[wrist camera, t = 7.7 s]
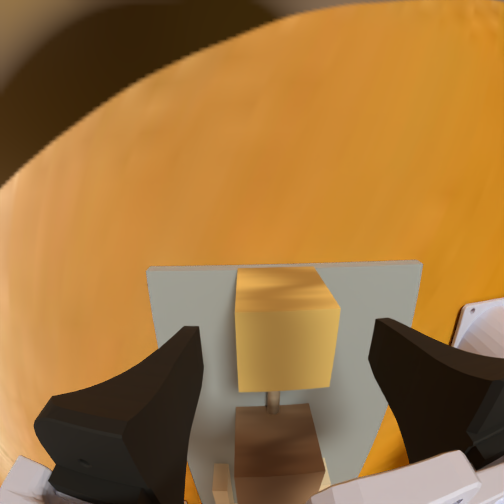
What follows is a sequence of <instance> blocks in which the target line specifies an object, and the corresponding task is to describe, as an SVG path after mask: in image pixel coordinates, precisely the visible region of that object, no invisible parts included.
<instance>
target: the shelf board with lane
mask: <svg viewBox="0 0 504 504" xmlns="http://www.w3.org/2000/svg"><path fill="white" fill-rule="evenodd" d="M306 266H314V268H315V269H316V271H317V272H318V274H319V275H320V277H321V278H322V280H323V281H324V283H325V284H326V286H327V288H328V289H329V291H330V292H331V294H332V295H333V297H334V298H335V300H336V301H337V303H338V305H339V306H340V308H341V311H340V319H339V327H338V335H337V342H336V349H335V356H334V362H333V368H332V374H331V380H330V386H329V387H323V388H313V389H301V390H288V391H280V405H291V404H303V403H309V406H310V410H311V414H312V418H313V422H314V426H315V430H316V434H317V438H318V442H319V446H320V450H321V454H322V458H323V462H324V466H325V470H326V471H325V474H324V477H323V480H322V483H321V486H320V489H319V491H321V490H323V489H325V488H327V487H329V486H331V485H334V484H337V483H341V482H344V481H348V480H351V479H354V478H357V477H358V475H359V473H360V471H361V469H362V467H363V465H364V463H365V460H366V458H367V456H368V454H369V451H370V449H371V447H372V445H373V442H374V440H375V437H376V435H377V433H378V430H379V428H380V425H381V422H382V420H383V417H384V415H385V412H386V409H387V406H388V402H387V400H386V399H385V397H384V395H383V393H382V391H381V389H380V387H379V385H378V383H377V382H376V380H375V378H374V375H373V372H372V370H371V367H370V364H369V361H368V355H369V350H370V346H371V341H372V335H373V330H374V325H375V319H378V318H391V319H394V320H396V321H398V322H400V323H402V324H404V325H406V326H408V327H410V328H411V325H412V320H413V316H414V311H415V306H416V301H417V296H418V291H419V285H420V280H421V273H422V267H423V264H422V263H421V262H419V261H418V260H400V261H372V262H341V263H307V264H267V265H218V266H150V267H149V268H148V269H147V271H146V275H147V282H148V289H149V296H150V303H151V309H152V315H153V321H154V327H155V332H156V338H157V343H158V348H160V347H161V346H162V345H163V344H164V343H166V342H167V341H168V340H169V339H170V338H171V337H172V336H173V335H175V334H176V333H177V332H178V331H179V330H180V329H181V328H182V327H183V326H199V329H200V338H201V347H202V355H203V363H204V372H203V381H202V388H201V392H200V396H199V400H198V404H197V408H196V412H195V416H194V420H193V424H192V428H191V432H190V438H189V446H188V454H187V462H188V465H189V468H190V471H191V474H192V477H193V480H194V483H195V485H196V488H197V491H198V494H199V497H200V499H201V502H202V504H238V503H237V496H236V488H235V481H234V458H235V416H236V407H246V406H267V398H268V392H239V388H238V370H237V350H236V329H235V301H236V285H237V270H238V268H268V267H306Z"/></svg>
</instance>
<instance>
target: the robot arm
mask: <svg viewBox="0 0 504 504" xmlns="http://www.w3.org/2000/svg"><path fill="white" fill-rule="evenodd" d="M368 361H369V364H370V367H371V370H372V372H373V375H374V378H375V380H376V382H377V383H378V385H379V387H380V389H381V391H382V393H383V395H384V397H385V399H386V400H387V402H388V404H389V406H390V408H391V410H392V412H393V414H394V416H395V418H396V420H397V423H398V426H399V429H400V431H401V434H402V437H403V441H404V444H405V447H406V451H407V454H408V458H409V463H410V464H409V465H406V466H403V467H399V468H396V469H392V470H388V471H385V472H381V473H377V474H373V475H368V476H364V477H359V478H354V479H351V480H348V481H344V482H341V483H337V484H334V485H331V486H329V487H327V488H325V489H323V490H321V491H319V492H317V493H315V494H313V495H312V496H311V497H310V499H309V500H308V501H307V502H306V503H305V504H504V298H498V299H493V300H488V301H482V302H476V303H470V304H466V305H465V306H464V307H463V308H462V310H461V314H460V318H459V321H458V325H457V328H456V332H455V335H454V338H453V341H452V345H451V346H449V345H446V344H444V343H442V342H439V341H437V340H435V339H433V338H430V337H428V336H426V335H424V334H422V333H420V332H418V331H416V330H414V329H412V328H410V327H408V326H406V325H404V324H402V323H400V322H398V321H396V320H394V319H391V318H378V319H375V325H374V330H373V335H372V341H371V346H370V350H369V355H368ZM203 372H204V363H203V355H202V347H201V338H200V329H199V326H183V327H182V328H181V329H180V330H179V331H178V332H177V333H176V334H175V335H173V336H172V337H171V338H170V339H169V340H168V341H167V342H166V343H164V344H163V345H162V346H161V347H160V348H159V349H157V350H156V351H155V352H154V353H152V354H151V355H150V356H148V357H147V358H146V359H144V360H143V361H142V362H140V363H139V364H137V365H136V366H134V367H132V368H131V369H129V370H127V371H125V372H124V373H122V374H120V375H118V376H116V377H113V378H111V379H109V380H107V381H105V382H102V383H100V384H97V385H94V386H92V387H89V388H85V389H82V390H79V391H75V392H70V393H66V394H61V395H56V396H52V397H51V398H50V400H49V401H48V403H47V404H46V405H45V407H44V408H43V410H42V411H41V413H40V414H39V416H38V417H37V418H36V420H35V422H34V430H35V433H36V436H37V437H38V439H39V441H40V443H41V444H42V446H43V447H44V448H45V450H46V451H47V453H48V454H49V455H50V457H51V458H52V460H53V461H54V462H55V464H56V466H55V468H54V470H53V471H52V470H50V469H49V468H48V467H46V466H44V465H42V464H40V463H38V462H35V461H33V460H31V459H28V458H26V457H24V456H21V455H19V457H18V458H17V460H16V462H15V463H14V465H13V467H12V468H11V470H10V472H9V473H8V475H7V477H6V479H5V480H4V482H3V484H2V486H1V488H0V504H184V491H185V476H186V464H187V454H188V446H189V438H190V432H191V428H192V424H193V420H194V416H195V412H196V408H197V404H198V400H199V396H200V392H201V388H202V381H203Z"/></svg>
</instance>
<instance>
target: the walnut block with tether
mask: <svg viewBox="0 0 504 504" xmlns="http://www.w3.org/2000/svg"><path fill="white" fill-rule="evenodd" d="M340 311H341V308H340V306H339V305H338V303H337V301H336V300H335V298H334V297H333V295H332V294H331V292H330V291H329V289H328V288H327V286H326V284H325V283H324V281H323V280H322V278H321V277H320V275H319V274H318V272H317V271H316V269H315V268H314V266H306V267H268V268H238V270H237V285H236V301H235V329H236V350H237V370H238V388H239V392H268V398H267V406H246V407H236V416H235V458H234V481H235V488H236V496H237V503H238V504H305V503H306V502H307V501H308V500H309V499H310V497H311V496H312V495H313V494H315V493H317V492H319V489H320V486H321V483H322V480H323V477H324V474H325V471H326V470H325V466H324V462H323V458H322V454H321V450H320V446H319V442H318V438H317V434H316V430H315V426H314V422H313V418H312V414H311V410H310V406H309V403H303V404H291V405H280V391H288V390H301V389H313V388H323V387H329V386H330V380H331V374H332V368H333V362H334V356H335V349H336V342H337V335H338V327H339V319H340Z"/></svg>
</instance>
